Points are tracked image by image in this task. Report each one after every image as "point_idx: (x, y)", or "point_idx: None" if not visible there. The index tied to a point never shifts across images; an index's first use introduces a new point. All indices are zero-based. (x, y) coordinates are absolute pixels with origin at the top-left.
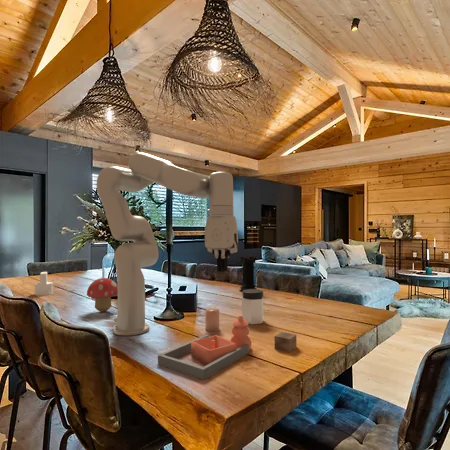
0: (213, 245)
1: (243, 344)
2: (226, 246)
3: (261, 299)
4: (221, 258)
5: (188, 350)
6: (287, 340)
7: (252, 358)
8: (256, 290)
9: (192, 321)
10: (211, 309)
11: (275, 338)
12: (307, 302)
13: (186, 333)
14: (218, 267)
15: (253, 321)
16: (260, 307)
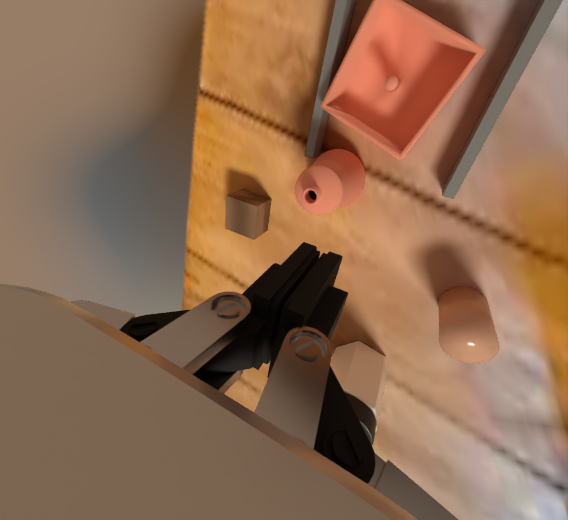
0: (223, 480)
1: (319, 156)
2: (3, 300)
3: None
4: (265, 320)
5: (500, 78)
6: (232, 196)
7: (295, 122)
8: None
9: (564, 372)
10: (473, 349)
11: (257, 204)
12: None
13: (561, 257)
14: (322, 264)
15: (352, 346)
16: None
